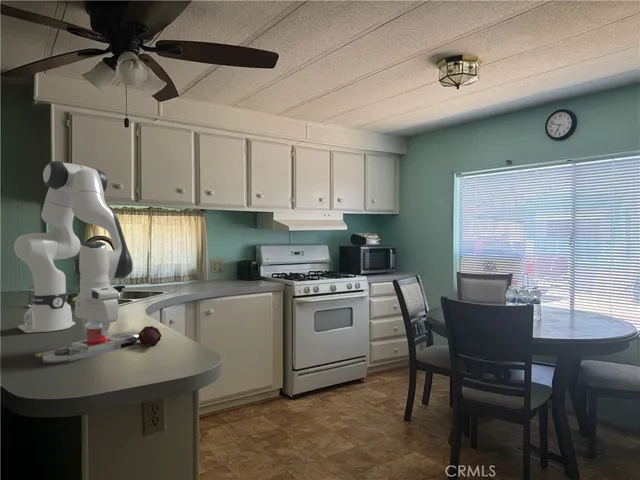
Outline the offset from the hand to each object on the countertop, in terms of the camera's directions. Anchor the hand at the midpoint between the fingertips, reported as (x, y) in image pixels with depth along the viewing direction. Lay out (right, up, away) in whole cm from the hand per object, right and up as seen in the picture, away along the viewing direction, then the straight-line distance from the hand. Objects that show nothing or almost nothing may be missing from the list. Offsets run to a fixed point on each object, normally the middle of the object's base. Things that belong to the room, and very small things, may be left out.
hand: (96, 333), depth 148 cm
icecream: (+16, -6, +5) cm, 17 cm away
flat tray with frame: (0, -6, 0) cm, 6 cm away
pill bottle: (0, -6, 0) cm, 6 cm away
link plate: (-13, -6, -3) cm, 15 cm away
